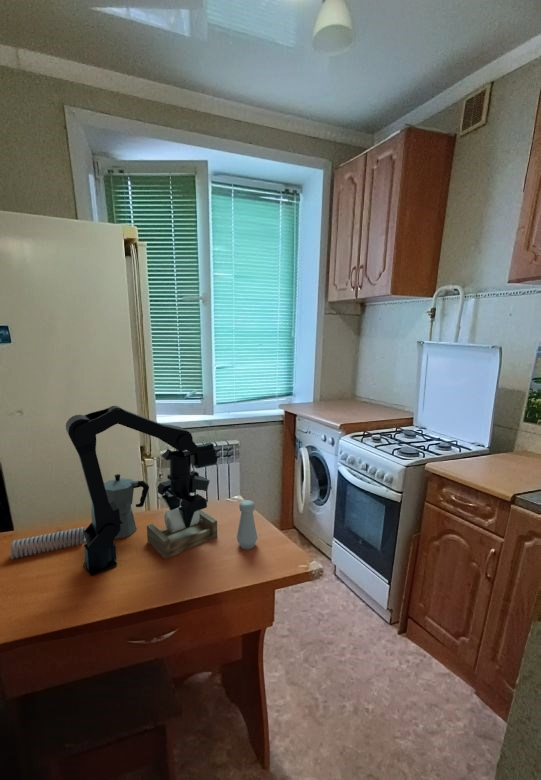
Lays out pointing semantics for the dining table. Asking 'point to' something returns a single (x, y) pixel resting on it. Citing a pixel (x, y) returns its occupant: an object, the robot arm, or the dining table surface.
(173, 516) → the cylinder
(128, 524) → the coffeepot
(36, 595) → the dining table surface
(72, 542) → the coil
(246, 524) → the salt shaker
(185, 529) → the cradle
